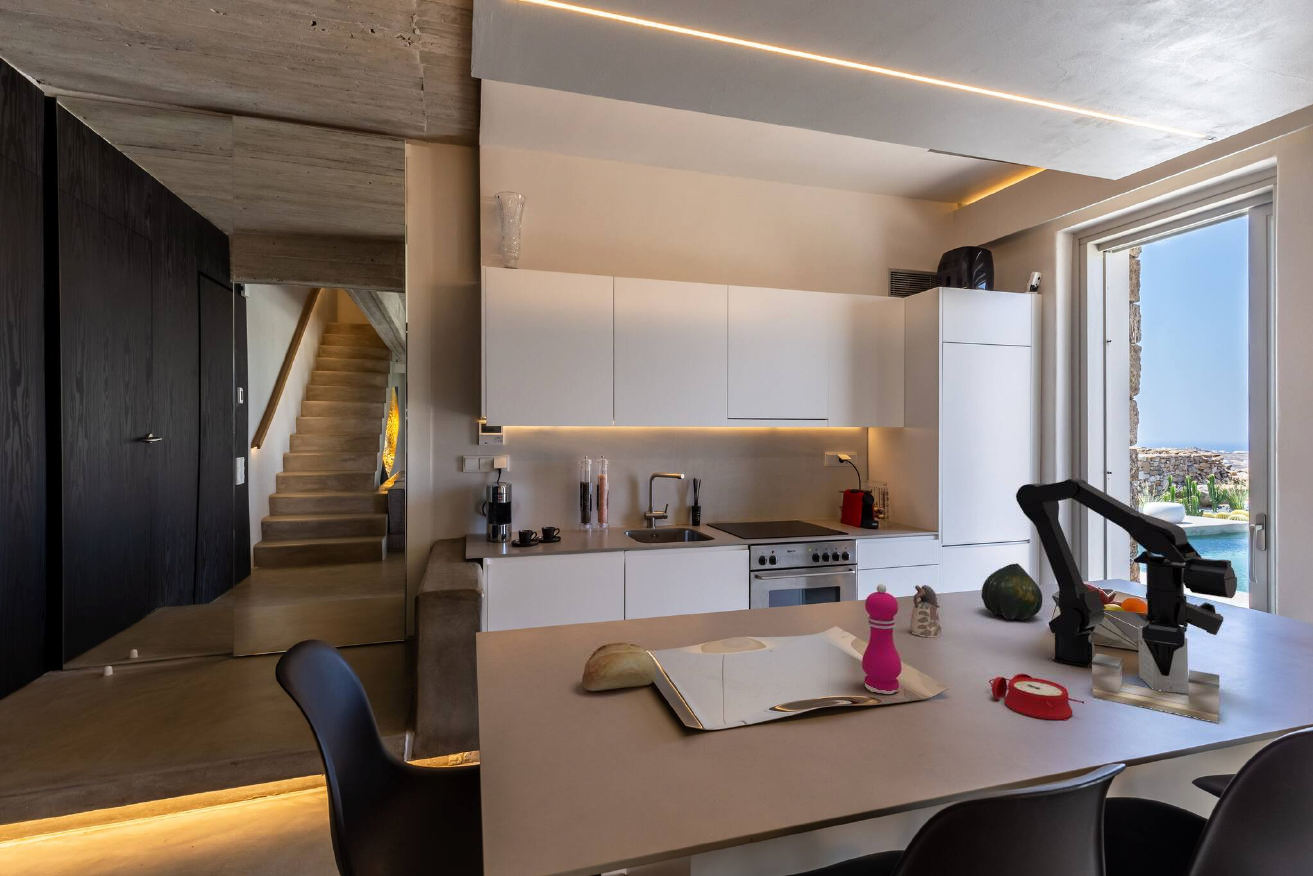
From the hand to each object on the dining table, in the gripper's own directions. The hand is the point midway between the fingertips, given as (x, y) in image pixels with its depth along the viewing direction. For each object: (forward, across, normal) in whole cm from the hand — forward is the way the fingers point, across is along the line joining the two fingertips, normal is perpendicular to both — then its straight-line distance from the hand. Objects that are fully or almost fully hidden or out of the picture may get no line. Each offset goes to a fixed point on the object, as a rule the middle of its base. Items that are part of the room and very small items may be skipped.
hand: (1166, 669), depth 127 cm
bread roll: (+3, -70, +80) cm, 106 cm away
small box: (+4, 0, +1) cm, 4 cm away
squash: (+3, +37, +35) cm, 51 cm away
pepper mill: (+3, -38, +41) cm, 56 cm away
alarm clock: (+4, -28, +18) cm, 33 cm away
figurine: (+3, +5, +47) cm, 48 cm away
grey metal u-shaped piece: (+3, -12, +1) cm, 12 cm away
